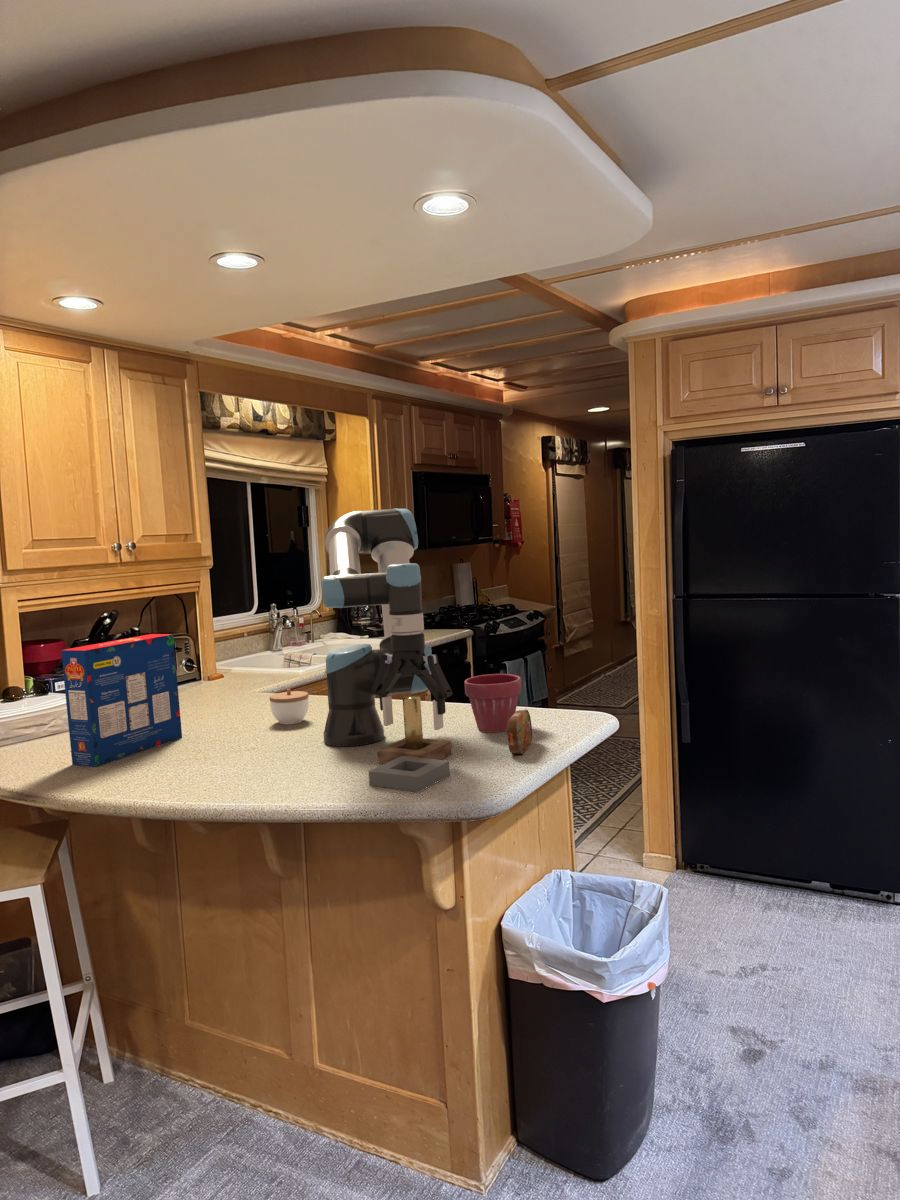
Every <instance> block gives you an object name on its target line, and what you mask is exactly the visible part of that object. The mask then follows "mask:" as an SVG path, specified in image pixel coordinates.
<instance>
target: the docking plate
mask: <svg viewBox="0 0 900 1200" xmlns="http://www.w3.org/2000/svg"><path fill="white" fill-rule="evenodd" d="M450 765H451V764H450V760H445V759H444V760H443V759H441V760H436V759H427V758H418V757H408V756H400V757H398V758H396V759H394V760H392V761H389V762H387V763H385V764H381V765H379V766H377V767H375V768H372V769H370V770H368V783H369V784H368V785H369V786H370V785H372V786H371V787H376V786H379V787H378V788H384V787H387V788H386V789H391V788H394V789H393V790H399V789H400V791H406V790H407V792H414V791H415V792H414V793H420V792H421V790H422V791H424V790H426V789H427V788H429V787H431V786H432V784H433V785H435V784H436V783H438V782H440V781H442V780H444V779H446V778H447V777H449V776H451V767H450ZM445 777H446V778H445ZM443 778H444V779H443ZM441 779H442V780H441ZM439 780H440V781H439ZM437 781H438V782H437ZM435 782H436V783H435ZM434 783H435V784H434ZM430 785H431V786H430ZM428 786H429V787H428ZM426 787H427V788H426ZM425 788H426V789H425ZM423 789H424V790H423Z"/></svg>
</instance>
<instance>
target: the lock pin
mask: <svg viewBox="0 0 900 1200" xmlns="http://www.w3.org/2000/svg"><path fill="white" fill-rule="evenodd" d="M402 708H403V709H402V710H403V711H402V712H403V713H402V714H403V725H404V738H405V744H406V749H411V750H420V749H422V748H423V739H424V733H423V722H422V721H423V719H422V701H421V696H419V695H408V696H403V697H402Z"/></svg>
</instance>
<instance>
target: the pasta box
mask: <svg viewBox="0 0 900 1200" xmlns="http://www.w3.org/2000/svg"><path fill="white" fill-rule="evenodd" d="M60 652H61V663H62V672H63V685H64V693H65V702H66V703H65V705H66V713H67V722H68V723H67V724H68V735H69V743H70V753H71V754H70V755H71V763H72V765H73V766H79V767H81V766H82V767H90V768H98V767H101V766H103V765H106V764H109V763H113V762H115V761H118V760H119V761H120V760H121V759H124V758H127V757H130V756H133V755H135V754H138V753H141V752H146V751H147V750H151V749H154V748H156V747H160V746H162V745H166V744H168V743H171V742H174V741H177V740H181V739H183V732H182V720H181V718H182V717H181V711H180V710H181V708H180V698H179V697H180V696H179V687H178V674H177V663H176V654H175V653H176V650H175V640H174V634H173V633H170V634H169V633H163V634H162V633H149V634H144V635H140V636H133V637H128V638H127V637H126V638H121V639H116V640H112V641H111V640H110V641H106V642H101V643H95V644H88V645H82V646H76V647H72V648H67V649H61V650H60Z"/></svg>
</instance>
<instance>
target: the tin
mask: <svg viewBox="0 0 900 1200" xmlns="http://www.w3.org/2000/svg"><path fill="white" fill-rule="evenodd" d="M532 727H533V725H532V718H531V714H530V711H529V710H528V709H522V710H516V712H515V713H514V714H513V715H512V716H511V717H510V718H509V720H508V723H507V730H506V734H507V742H508V750H509V752H510V753H511V754H512V755H524V754H525V753H526V751H527V750H528V748H529V747H530V746H531V744H532V739H533V730H532V729H533V728H532Z"/></svg>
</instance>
